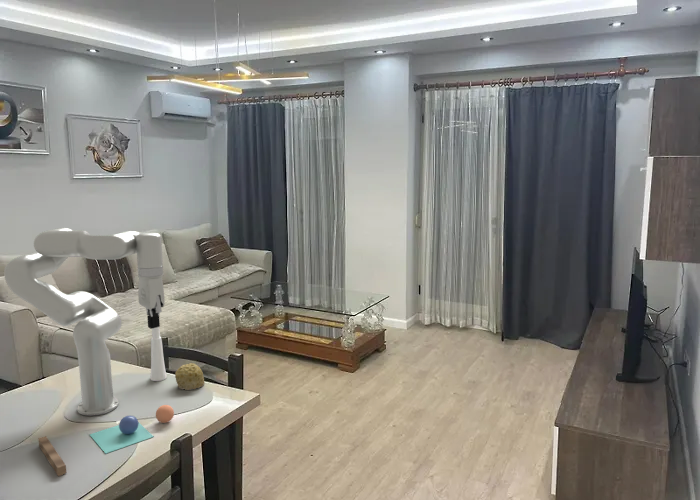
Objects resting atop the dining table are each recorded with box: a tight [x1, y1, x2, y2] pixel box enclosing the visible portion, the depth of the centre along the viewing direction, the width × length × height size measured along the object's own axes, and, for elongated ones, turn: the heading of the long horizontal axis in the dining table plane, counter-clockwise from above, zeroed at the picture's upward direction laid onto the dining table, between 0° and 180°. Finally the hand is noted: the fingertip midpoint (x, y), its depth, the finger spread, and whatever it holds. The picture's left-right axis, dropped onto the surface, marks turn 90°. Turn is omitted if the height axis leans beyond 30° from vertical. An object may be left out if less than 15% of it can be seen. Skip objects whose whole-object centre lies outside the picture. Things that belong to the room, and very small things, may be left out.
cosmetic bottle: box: [149, 326, 168, 382], centre depth 203 cm, size 6×6×22 cm
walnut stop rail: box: [37, 435, 67, 477], centre depth 150 cm, size 20×2×2 cm, turn 42°
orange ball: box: [155, 404, 175, 424], centre depth 171 cm, size 6×6×6 cm
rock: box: [174, 362, 206, 391], centre depth 198 cm, size 10×11×10 cm
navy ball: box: [118, 415, 140, 434], centre depth 164 cm, size 6×6×6 cm
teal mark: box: [89, 421, 155, 454], centre depth 163 cm, size 14×14×1 cm
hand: (153, 327), depth 173 cm, fingers closed
